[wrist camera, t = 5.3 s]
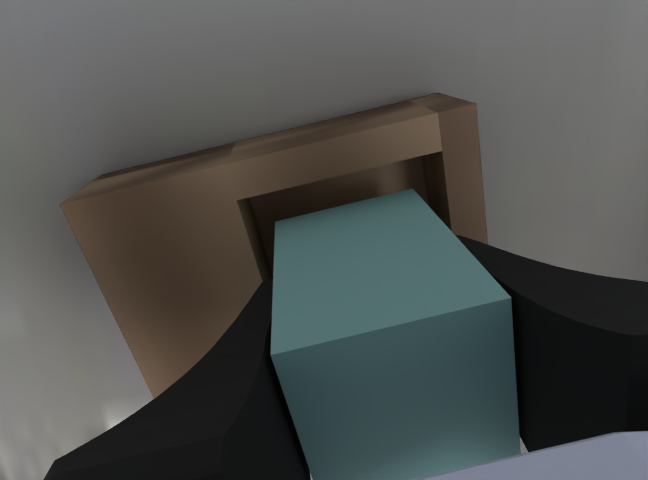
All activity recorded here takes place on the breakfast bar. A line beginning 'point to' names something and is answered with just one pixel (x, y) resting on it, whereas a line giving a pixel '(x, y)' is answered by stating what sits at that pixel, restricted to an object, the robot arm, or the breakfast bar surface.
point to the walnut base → (257, 216)
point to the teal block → (391, 343)
